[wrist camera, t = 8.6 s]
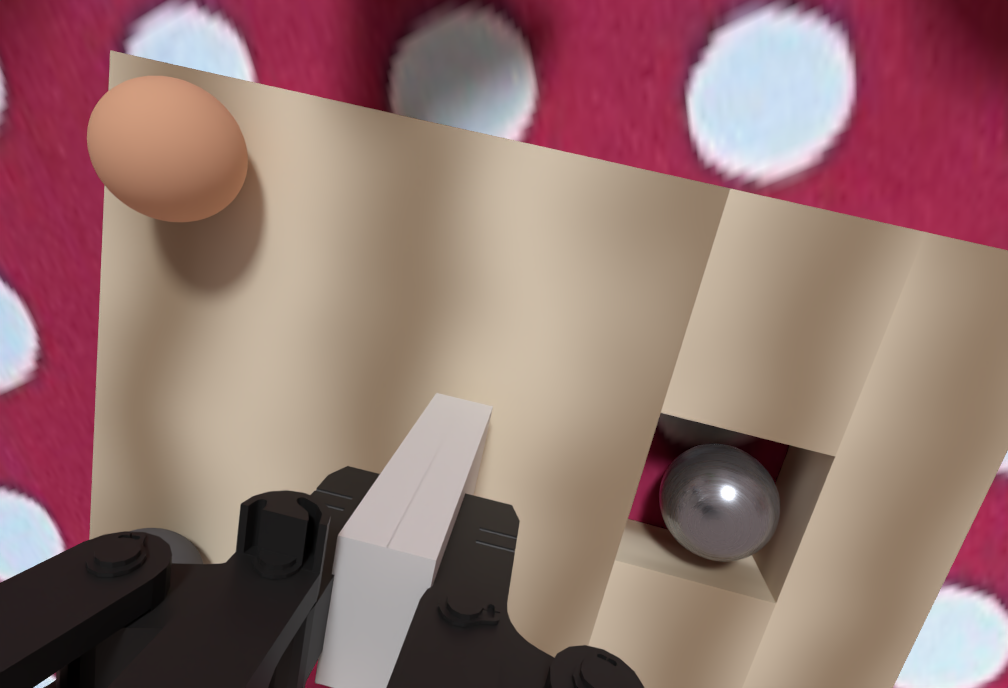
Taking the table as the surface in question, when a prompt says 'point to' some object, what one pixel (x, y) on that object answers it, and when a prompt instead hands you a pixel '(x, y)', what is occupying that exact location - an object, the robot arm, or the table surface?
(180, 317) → the wooden board with hole
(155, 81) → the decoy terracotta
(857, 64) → the table surface
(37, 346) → the table surface
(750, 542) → the steel ball
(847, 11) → the table surface
